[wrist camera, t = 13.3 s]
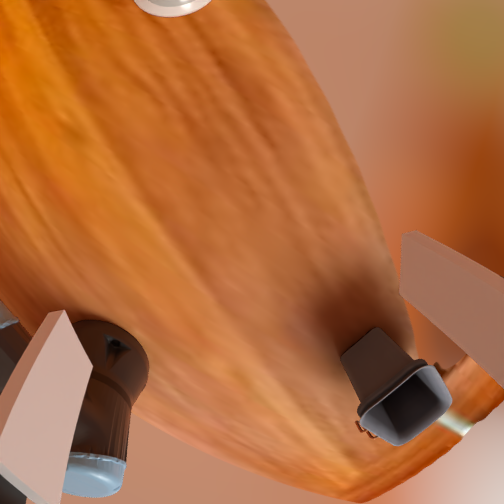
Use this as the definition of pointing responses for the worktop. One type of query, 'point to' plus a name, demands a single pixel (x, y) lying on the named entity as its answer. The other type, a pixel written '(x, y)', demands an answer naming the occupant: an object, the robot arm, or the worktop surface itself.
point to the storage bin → (393, 389)
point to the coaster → (171, 7)
